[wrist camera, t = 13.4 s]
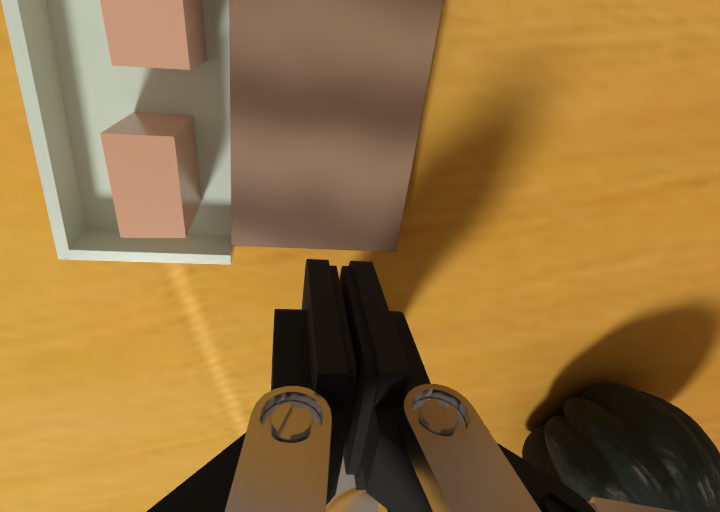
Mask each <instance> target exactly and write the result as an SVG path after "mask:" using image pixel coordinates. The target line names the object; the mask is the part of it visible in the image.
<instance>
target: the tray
mask: <svg viewBox="0 0 720 512" xmlns="http://www.w3.org/2000/svg"><path fill="white" fill-rule="evenodd" d="M1 2H2V6H3V11H4V15H5V20H6V24H7V29H8V34H9V38H10V43H11V47H12V52H13V56H14V61H15V65H16V70H17V74H18V79H19V83H20V88H21V92H22V97H23V101H24V106H25V111H26V115H27V120H28V124H29V129H30V133H31V138H32V142H33V147H34V151H35V156H36V160H37V165H38V169H39V174H40V178H41V183H42V188H43V192H44V197H45V201H46V206H47V210H48V215H49V219H50V224H51V228H52V233H53V237H54V242H55V246H56V251H57V256H58V259H68V260H100V261H133V262H165V263H198V264H230V265H231V261H232V256H233V251H234V246H233V245H231V143H230V40H229V0H202V6H203V17H204V29H205V40H206V52H207V61H205V62H203V63H202V64H200V65H198V66H196V67H194V68H193V69H191V70H182V69H165V68H148V67H131V66H114V65H112V63H111V58H110V52H109V47H108V41H107V36H106V30H105V25H104V20H103V14H102V9H101V3H100V0H1ZM133 112H145V113H163V114H182V115H193V116H194V127H195V137H196V148H197V159H198V169H199V180H200V191H201V204H200V206H199V208H198V211H197V213H196V215H195V218H194V220H193V223H192V225H191V227H190V230H189V232H188V234H187V237H186V238H120V233H119V228H118V222H117V217H116V212H115V207H114V202H113V197H112V192H111V187H110V181H109V176H108V171H107V166H106V161H105V156H104V151H103V146H102V140H101V135H100V133H101V132H103V131H105V130H106V129H108V128H109V127H111V126H112V125H114V124H116V123H117V122H119V121H120V120H122V119H124V118H125V117H127V116H128V115H130V114H131V113H133Z"/></svg>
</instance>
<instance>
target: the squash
mask: <svg viewBox="0 0 720 512" xmlns="http://www.w3.org/2000/svg"><path fill="white" fill-rule="evenodd" d="M563 411H564V416H565V417H563V416H554V417H553V418H551V419H550V420H548V421H547V423H546V424H543V425H541V426H539V427H537V428H536V429H534V430H533V431H532V432H531V433H530V434H529V436H528V437H527V439H526V440H525V443H524V446H523V450H522V457H523V458H522V459H524V460H525V461H527V462H529V463H530V464H532V465H534V466H535V467H537V468H538V469H540V470H542V471H543V472H545V473H547V474H548V475H550V476H551V477H553V478H555V479H556V480H558V481H560V482H561V483H563V484H564V485H566V486H568V487H569V488H571V489H572V490H574V491H575V492H576V493H578V494H579V495H580V496H582V497H583V498H584V499H585V500H586V501H587V502H589V501H590V500H591V498H592V497H597V498H603V499H609V500H615V501H621V502H626V503H632V504H638V505H644V506H650V507H655V508H661V509H667V510H673V511H679V512H720V453H719V451H718V449H717V448H716V446H715V445H714V443H713V442H712V441H711V439H710V438H709V437H708V436H707V434H706V433H705V432H704V431H703V429H702V428H701V427H700V426H699V425H698V424H697V423H696V422H695V421H694V420H693V419H692V418H691V417H690V416H688V415H687V414H686V413H685V412H683V411H682V410H681V409H679V408H678V407H676V406H674V405H672V404H670V403H669V402H667V401H665V400H663V399H661V398H658V397H656V396H653V395H651V394H648V393H645V392H641V391H636V390H634V389H632V388H630V387H628V386H625V385H621V384H617V383H599V384H595V385H593V386H591V387H589V388H588V389H587V390H585V392H584V393H583V394H582V395H581V397H580V398H571V399H569V400H567V401H566V402H565V404H564V407H563Z"/></svg>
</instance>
